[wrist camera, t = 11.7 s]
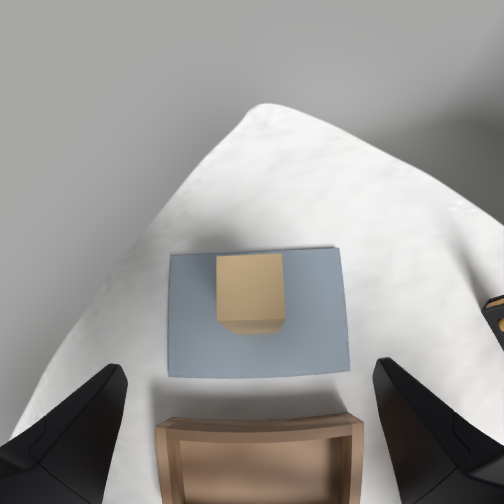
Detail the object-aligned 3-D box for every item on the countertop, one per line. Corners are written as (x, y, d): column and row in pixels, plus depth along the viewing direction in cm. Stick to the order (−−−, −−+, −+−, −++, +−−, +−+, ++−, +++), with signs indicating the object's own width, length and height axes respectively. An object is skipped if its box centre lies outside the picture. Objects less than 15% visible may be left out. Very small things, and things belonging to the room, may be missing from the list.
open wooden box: (345, 511, 17) (356, 532, 13) (181, 515, 17) (167, 535, 14) (348, 412, 20) (363, 422, 16) (171, 417, 21) (154, 427, 17)
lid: (346, 370, 22) (397, 376, 12) (172, 376, 22) (113, 384, 13) (336, 252, 25) (371, 191, 16) (174, 259, 26) (127, 204, 16)
